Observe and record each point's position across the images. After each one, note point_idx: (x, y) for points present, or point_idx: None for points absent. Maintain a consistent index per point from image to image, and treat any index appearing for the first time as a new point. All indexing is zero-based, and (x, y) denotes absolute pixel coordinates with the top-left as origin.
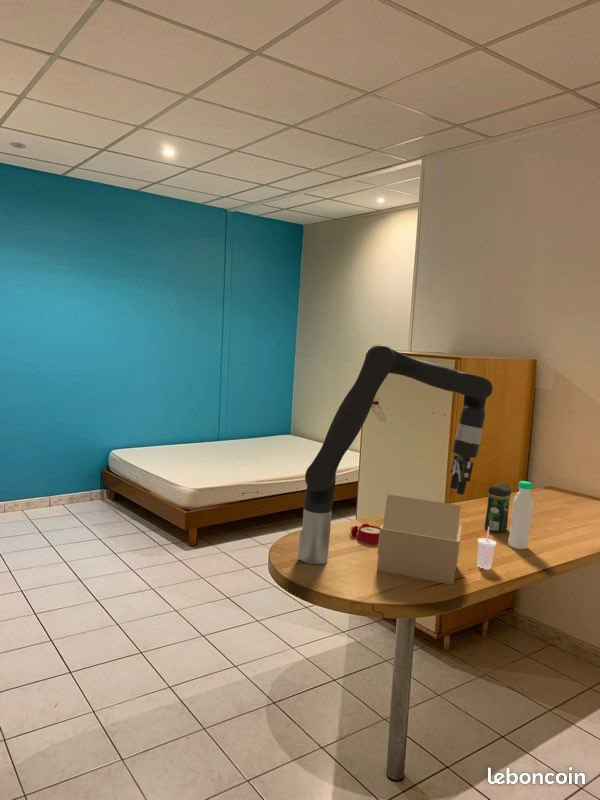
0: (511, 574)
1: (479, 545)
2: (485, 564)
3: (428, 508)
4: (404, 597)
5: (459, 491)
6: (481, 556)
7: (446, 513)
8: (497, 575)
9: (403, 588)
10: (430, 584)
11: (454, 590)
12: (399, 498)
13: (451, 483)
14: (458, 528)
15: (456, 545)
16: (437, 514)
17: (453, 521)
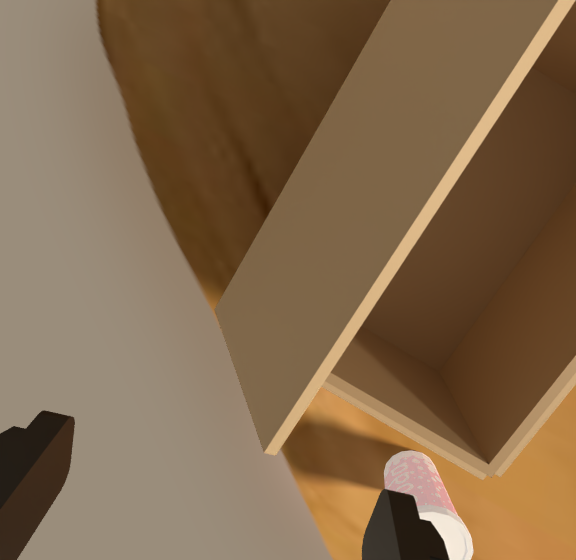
0: (333, 530)
1: (425, 502)
2: (386, 474)
3: (380, 199)
4: (154, 17)
5: (3, 437)
6: (403, 479)
7: (294, 320)
8: (328, 477)
9: (232, 46)
10: (264, 180)
11: (210, 251)
12: None
13: (394, 533)
14: (431, 432)
15: None
16: (322, 254)
17: (252, 341)
